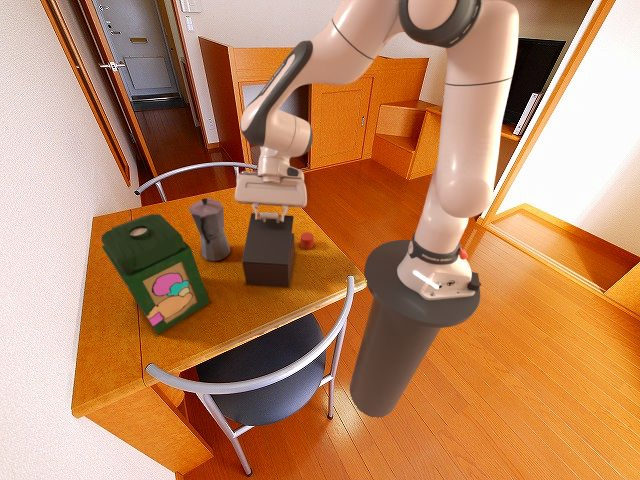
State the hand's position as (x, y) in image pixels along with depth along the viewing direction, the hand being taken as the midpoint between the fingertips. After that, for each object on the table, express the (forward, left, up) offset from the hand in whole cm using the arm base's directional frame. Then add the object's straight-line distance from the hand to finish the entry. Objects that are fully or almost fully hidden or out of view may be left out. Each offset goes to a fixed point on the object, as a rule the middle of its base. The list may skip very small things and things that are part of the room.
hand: (269, 220), depth 77 cm
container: (+24, +17, -17) cm, 34 cm away
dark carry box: (0, +2, -17) cm, 17 cm away
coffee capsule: (-10, -10, -17) cm, 22 cm away
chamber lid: (0, +2, -5) cm, 5 cm away
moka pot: (+19, -3, -17) cm, 26 cm away
